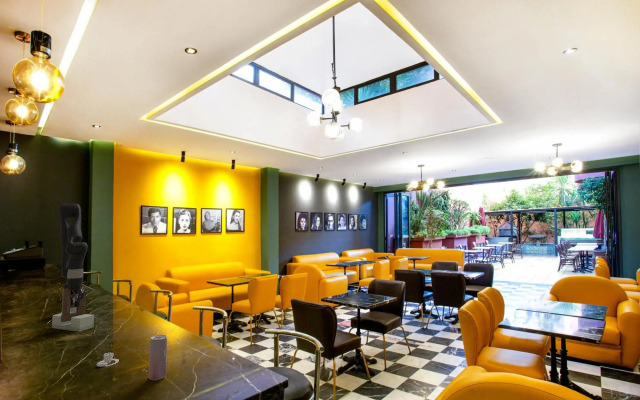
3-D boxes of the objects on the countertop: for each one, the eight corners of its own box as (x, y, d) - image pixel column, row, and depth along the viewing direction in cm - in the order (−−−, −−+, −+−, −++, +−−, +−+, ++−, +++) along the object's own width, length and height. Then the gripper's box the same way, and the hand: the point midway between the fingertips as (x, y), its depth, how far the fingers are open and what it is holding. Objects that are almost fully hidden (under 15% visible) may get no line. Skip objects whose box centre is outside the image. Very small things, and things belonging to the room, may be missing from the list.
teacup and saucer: (99, 370, 135) (100, 359, 135) (90, 365, 139) (91, 355, 139) (122, 362, 142) (122, 352, 142) (113, 358, 146) (113, 349, 147)
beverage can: (152, 374, 129) (153, 334, 131) (168, 373, 130) (169, 334, 131) (145, 381, 124) (147, 340, 125) (162, 380, 124) (163, 339, 125)
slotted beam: (66, 324, 198) (67, 311, 198) (93, 327, 191) (94, 314, 191) (52, 327, 190) (52, 315, 191) (79, 331, 183) (80, 318, 184)
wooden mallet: (84, 318, 194) (86, 286, 195) (62, 322, 185) (63, 289, 187) (83, 317, 196) (84, 286, 198) (60, 321, 188) (62, 288, 189)
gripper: (90, 276, 194) (89, 306, 193) (73, 275, 199) (71, 304, 197) (77, 278, 187) (75, 309, 185) (59, 277, 191) (58, 307, 190)
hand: (73, 306), depth 191 cm, fingers closed on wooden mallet, 4 cm apart
